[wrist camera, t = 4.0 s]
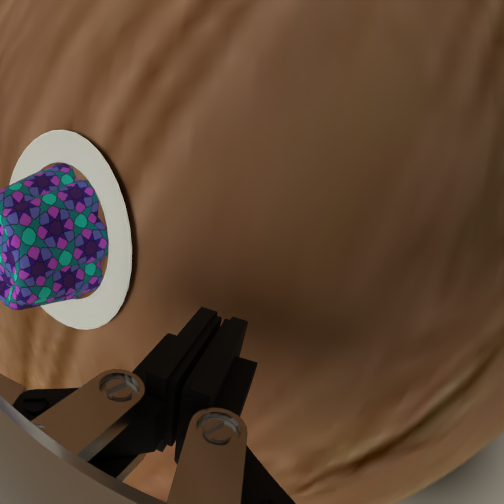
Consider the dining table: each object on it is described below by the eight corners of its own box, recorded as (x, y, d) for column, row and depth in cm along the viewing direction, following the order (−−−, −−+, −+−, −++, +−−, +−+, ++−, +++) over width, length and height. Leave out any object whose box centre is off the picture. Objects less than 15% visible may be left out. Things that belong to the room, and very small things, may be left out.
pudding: (88, 353, 17) (39, 395, 13) (1, 230, 17) (-50, 247, 12) (185, 236, 13) (114, 274, 8) (59, 92, 13) (-10, 84, 8)
